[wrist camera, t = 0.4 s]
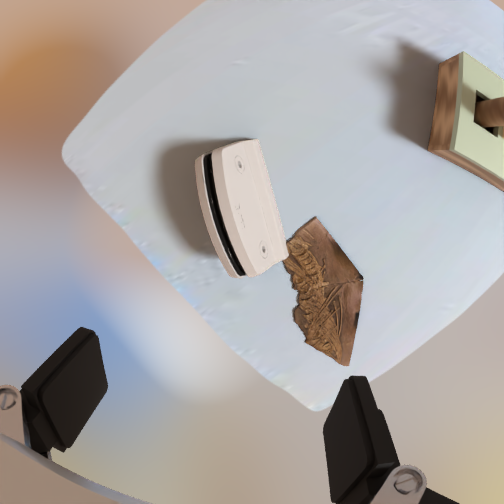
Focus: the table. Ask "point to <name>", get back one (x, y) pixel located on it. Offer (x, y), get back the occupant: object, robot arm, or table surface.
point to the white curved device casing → (240, 208)
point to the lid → (464, 129)
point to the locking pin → (489, 113)
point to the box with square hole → (452, 121)
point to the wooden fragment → (324, 291)
